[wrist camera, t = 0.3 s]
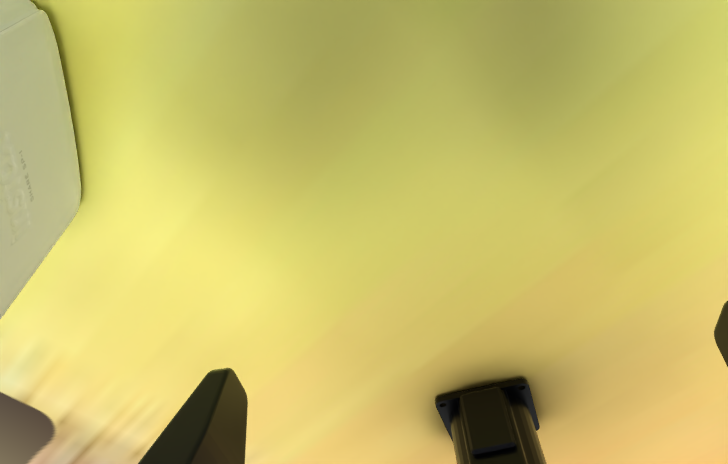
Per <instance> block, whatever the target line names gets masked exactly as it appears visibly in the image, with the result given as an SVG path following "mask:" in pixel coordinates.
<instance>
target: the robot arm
mask: <svg viewBox="0 0 728 464" xmlns="http://www.w3.org/2000/svg"><path fill="white" fill-rule="evenodd" d="M714 337H715V341H716V344H717V346H718V348H719V350H720V352H721V354H722V356H723V358H724V360H725V362H726V364H727V366H728V301H727V302H726V303H725V304H724V306H723V308H722V311H721V314H720V316H719V319H718V322H717V324H716V327H715V330H714ZM435 404H436V408H437V410H438V412H439V414H440V416H441V418H442V420H443V422H444V424H445V426H446V428H447V431H448V433H449V435H450V437H451V439H452V441H453V443H454V449H455V455H456V460H457V464H546V460H545V457H544V454H543V451H542V448H541V445H540V442H539V439H538V436H537V432H536V431H537V430H538V429H539V423H538V419H537V415H536V411H535V407H534V403H533V399H532V396H531V392H530V388H529V384H528V382H527V380H526V379H522V378H521V379H516V380H511V381H507V382H502V383H498V384H493V385H489V386H484V387H480V388H475V389H471V390H466V391H462V392H457V393H453V394H448V395H444V396H440V397H437V398H436V399H435ZM247 405H248V402H247V395H246V392H245V390H244V388H243V386H242V385H241V383H240V381H239V379H238V377H237V376H236V374H235V372H234V371H233V370H232V369H230V368H224V369H217V370H212V371H210V372H209V373H208V374H207V375H206V376H205V377H204V379H203V380H202V381H201V383H200V384H199V385H198V386H197V388H196V389H195V390H194V392H193V393H192V394H191V396H190V397H189V398H188V399H187V401H186V402H185V403H184V405H183V406H182V407H181V409H180V410H179V411H178V412H177V414H176V415H175V416H174V418H173V419H172V420H171V422H170V423H169V424H168V425H167V427H166V428H165V429H164V431H163V432H162V433H161V435H160V436H159V437H158V438H157V440H156V441H155V442H154V444H153V445H152V446H151V447H150V449H149V450H148V451H147V453H146V454H145V455H144V457H143V458H142V459H141V460H140V462H139V463H138V464H245V446H246V426H247Z"/></svg>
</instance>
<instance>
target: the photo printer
mask: <svg viewBox="0 0 728 464" xmlns="http://www.w3.org/2000/svg"><path fill="white" fill-rule="evenodd" d="M80 199H81V181H80V172H79V164H78V156H77V149H76V142H75V136H74V130H73V124H72V118H71V111H70V106H69V101H68V95H67V91H66V86H65V80H64V75H63V70H62V65H61V60H60V55H59V51H58V46H57V42H56V39H55V35H54V32H53V29H52V26H51V23H50V21H49V18H48V16H47V14H46V13H45V12H44V11H43V10H38V9H37V7H36V6H35V4H34V3H32V2H31V1H30V0H0V319H1V318H2V316H3V315H4V314H5V312H6V311H7V310H8V308H9V307H10V305H11V304H12V303H13V301H14V300H15V298H16V297H17V296H18V294H19V293H20V292H21V290H22V289H23V288H24V286H25V285H26V283H27V282H28V281H29V279H30V278H31V277H32V275H33V274H34V272H35V271H36V270H37V268H38V267H39V266H40V264H41V263H42V261H43V260H44V259H45V257H46V256H47V254H48V253H49V252H50V250H51V249H52V248H53V246H54V245H55V244H56V242H57V241H58V239H59V238H60V237H61V235H62V234H63V232H64V231H65V229H66V228H67V227H68V226H69V224H70V223H71V221H72V220H73V218H74V217H75V215H76V213H77V211H78V209H79V205H80Z"/></svg>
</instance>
